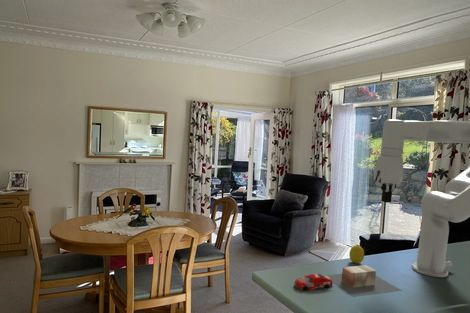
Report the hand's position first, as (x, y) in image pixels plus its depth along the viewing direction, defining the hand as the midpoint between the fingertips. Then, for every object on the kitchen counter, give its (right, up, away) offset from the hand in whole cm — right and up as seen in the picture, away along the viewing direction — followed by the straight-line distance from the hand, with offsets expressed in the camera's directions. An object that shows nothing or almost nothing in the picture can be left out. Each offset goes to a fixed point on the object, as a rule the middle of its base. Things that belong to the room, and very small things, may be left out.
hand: (386, 201), depth 135 cm
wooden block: (-10, -24, -10) cm, 28 cm away
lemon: (-9, -26, +8) cm, 29 cm away
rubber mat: (-13, -27, -11) cm, 32 cm away
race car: (-31, -27, -15) cm, 43 cm away
